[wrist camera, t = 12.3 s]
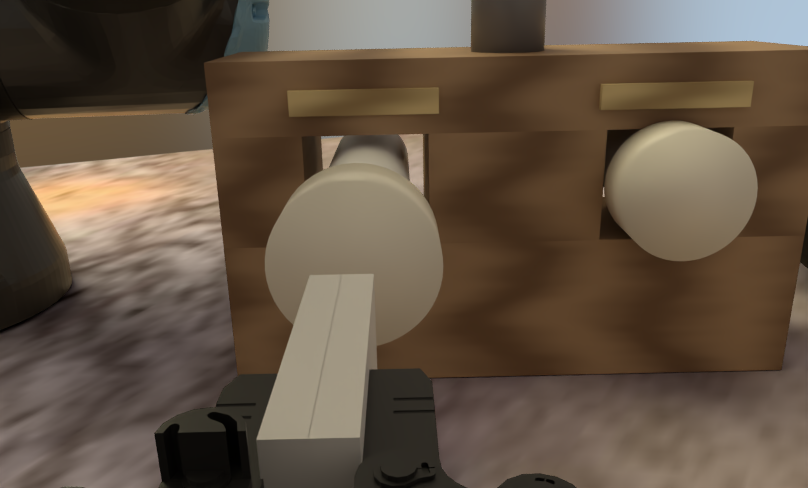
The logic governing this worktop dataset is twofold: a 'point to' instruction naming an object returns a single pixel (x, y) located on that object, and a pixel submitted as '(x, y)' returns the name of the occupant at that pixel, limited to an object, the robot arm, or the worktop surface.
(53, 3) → the robot arm
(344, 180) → the knob
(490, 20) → the grey bottle
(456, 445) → the worktop surface
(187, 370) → the worktop surface
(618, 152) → the knob
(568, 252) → the mount
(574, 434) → the worktop surface
